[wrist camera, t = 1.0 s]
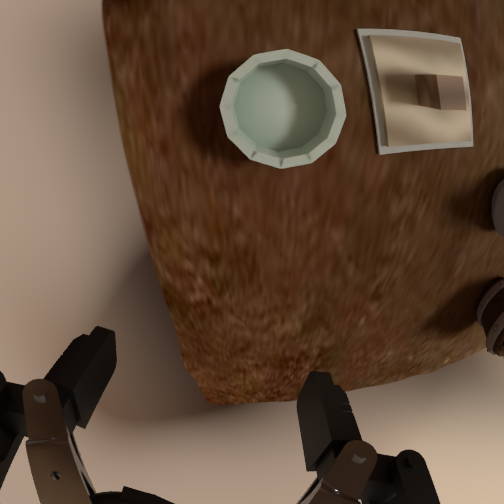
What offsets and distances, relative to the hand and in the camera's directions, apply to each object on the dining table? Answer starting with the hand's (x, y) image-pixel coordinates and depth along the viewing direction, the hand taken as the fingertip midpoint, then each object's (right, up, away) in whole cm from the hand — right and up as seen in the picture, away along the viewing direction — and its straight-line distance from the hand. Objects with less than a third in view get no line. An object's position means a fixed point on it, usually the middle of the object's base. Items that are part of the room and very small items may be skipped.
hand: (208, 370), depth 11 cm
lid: (+23, +25, +16) cm, 37 cm away
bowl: (+5, +21, +19) cm, 28 cm away
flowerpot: (+53, -5, +34) cm, 63 cm away
